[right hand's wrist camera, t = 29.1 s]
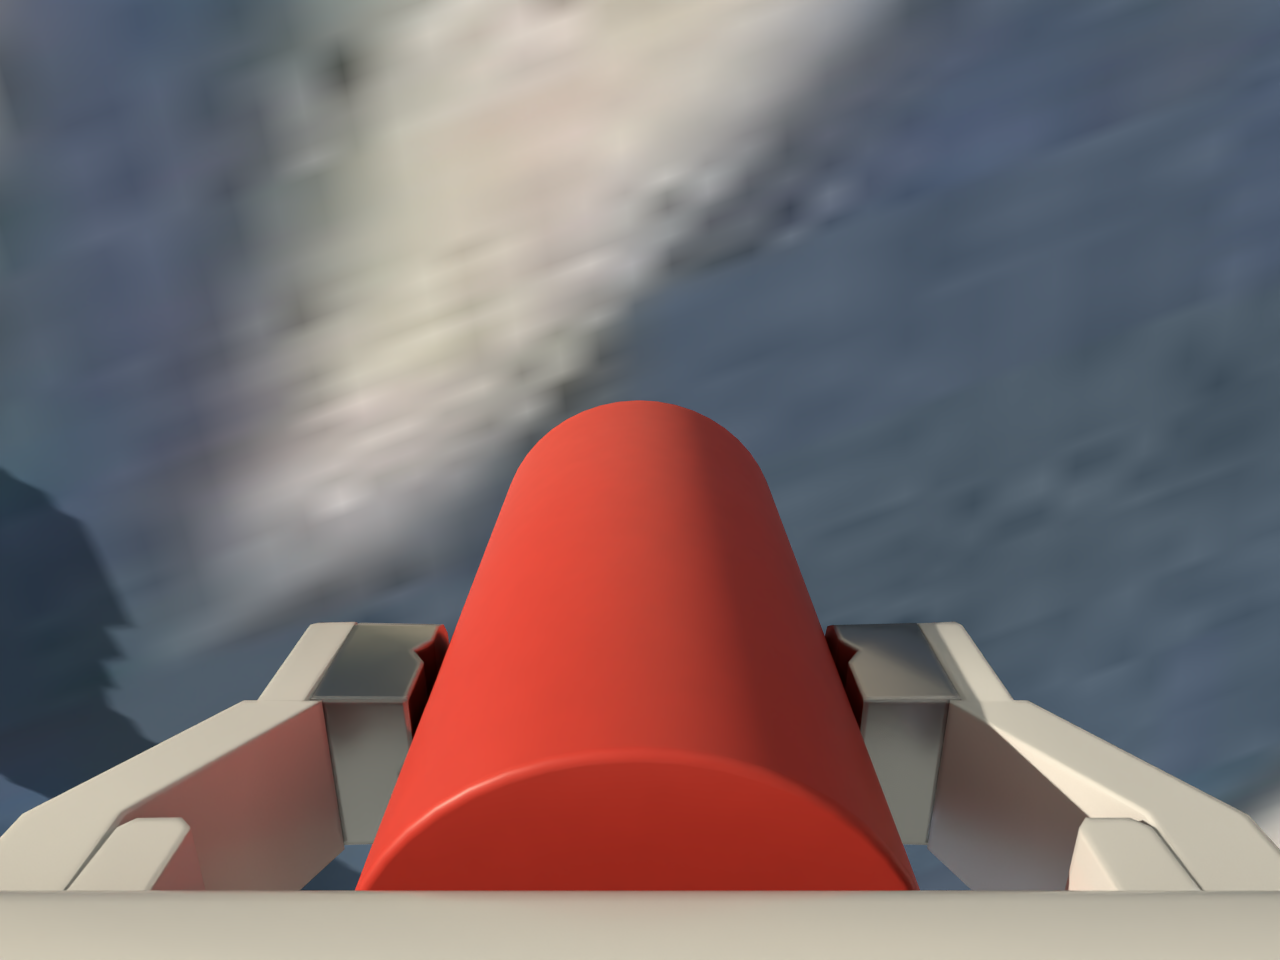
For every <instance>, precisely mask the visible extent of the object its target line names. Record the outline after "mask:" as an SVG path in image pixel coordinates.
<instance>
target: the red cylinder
mask: <svg viewBox="0 0 1280 960" xmlns="http://www.w3.org/2000/svg"><path fill="white" fill-rule="evenodd" d="M355 891H920V889H919V886H918V884H917V881H916V878H915V876H914V873H913V870H912V868H911V865H910V862H909V860H908V857H907V854H906V852H905V849H904V846H903V844H902V841H901V838H900V836H899V833H898V830H897V828H896V825H895V822H894V820H893V817H892V814H891V812H890V809H889V806H888V804H887V801H886V798H885V796H884V793H883V791H882V788H881V785H880V783H879V780H878V777H877V775H876V772H875V769H874V767H873V764H872V761H871V759H870V756H869V753H868V751H867V748H866V745H865V743H864V740H863V737H862V735H861V732H860V729H859V727H858V724H857V721H856V719H855V716H854V713H853V711H852V708H851V705H850V703H849V700H848V697H847V695H846V692H845V689H844V687H843V684H842V681H841V679H840V676H839V673H838V671H837V668H836V665H835V663H834V660H833V657H832V655H831V652H830V649H829V647H828V644H827V641H826V639H825V636H824V633H823V631H822V628H821V625H820V623H819V620H818V617H817V615H816V612H815V609H814V607H813V604H812V601H811V599H810V596H809V593H808V591H807V588H806V585H805V583H804V580H803V577H802V575H801V572H800V569H799V567H798V564H797V561H796V559H795V556H794V553H793V551H792V548H791V545H790V543H789V540H788V537H787V535H786V532H785V529H784V527H783V524H782V521H781V519H780V516H779V513H778V511H777V508H776V505H775V503H774V500H773V497H772V495H771V492H770V489H769V487H768V484H767V482H766V479H765V477H764V475H763V473H762V471H761V469H760V467H759V466H758V464H757V463H756V461H755V460H754V458H753V457H752V455H751V454H750V452H749V451H748V450H747V449H746V448H745V447H744V446H743V444H742V443H741V442H740V441H739V440H738V439H737V438H736V437H734V436H733V435H732V434H731V433H730V432H729V431H727V430H726V429H725V428H724V427H722V426H721V425H719V424H717V423H716V422H714V421H713V420H711V419H710V418H708V417H705V416H703V415H701V414H699V413H697V412H695V411H693V410H689V409H686V408H683V407H680V406H677V405H673V404H667V403H662V402H656V401H624V402H616V403H611V404H606V405H601V406H598V407H595V408H592V409H589V410H586V411H583V412H581V413H579V414H577V415H575V416H573V417H571V418H569V419H567V420H566V421H564V422H563V423H561V424H560V425H558V426H557V427H555V428H554V429H552V430H551V431H550V432H549V433H547V434H546V435H545V436H544V437H543V438H542V439H541V440H540V441H538V443H537V444H536V445H535V446H534V447H533V448H532V450H531V451H530V452H529V453H528V454H527V456H526V457H525V459H524V460H523V462H522V463H521V465H520V466H519V468H518V470H517V472H516V474H515V476H514V479H513V481H512V483H511V485H510V488H509V491H508V493H507V496H506V498H505V501H504V504H503V506H502V509H501V511H500V514H499V517H498V519H497V522H496V524H495V527H494V530H493V532H492V535H491V537H490V540H489V543H488V545H487V548H486V550H485V553H484V556H483V558H482V561H481V563H480V566H479V569H478V571H477V574H476V576H475V579H474V582H473V584H472V587H471V589H470V592H469V595H468V597H467V600H466V603H465V605H464V608H463V610H462V613H461V616H460V618H459V621H458V623H457V626H456V629H455V631H454V634H453V636H452V639H451V642H450V644H449V647H448V649H447V652H446V655H445V657H444V660H443V662H442V665H441V668H440V670H439V673H438V675H437V678H436V681H435V683H434V686H433V688H432V691H431V694H430V696H429V699H428V701H427V704H426V707H425V709H424V712H423V714H422V717H421V720H420V722H419V725H418V727H417V730H416V733H415V735H414V738H413V741H412V743H411V746H410V748H409V751H408V754H407V756H406V759H405V761H404V764H403V767H402V769H401V772H400V774H399V777H398V780H397V782H396V785H395V787H394V790H393V793H392V795H391V798H390V800H389V803H388V806H387V808H386V811H385V813H384V816H383V819H382V821H381V824H380V826H379V829H378V832H377V834H376V837H375V839H374V842H373V845H372V847H371V850H370V852H369V855H368V858H367V860H366V863H365V865H364V868H363V871H362V873H361V876H360V879H359V881H358V884H357V886H356V889H355Z"/></svg>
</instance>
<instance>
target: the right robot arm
mask: <svg viewBox="0 0 1280 960" xmlns="http://www.w3.org/2000/svg"><path fill="white" fill-rule="evenodd" d="M825 639H826V641H827V644H828V647H829V649H830V652H831V655H832V657H833V660H834V663H835V665H836V668H837V671H838V673H839V676H840V679H841V681H842V684H843V687H844V689H845V692H846V695H847V697H848V700H849V703H850V705H851V708H852V711H853V713H854V716H855V719H856V721H857V724H858V727H859V729H860V732H861V735H862V737H863V740H864V743H865V745H866V748H867V751H868V753H869V756H870V759H871V761H872V764H873V767H874V769H875V772H876V775H877V777H878V780H879V783H880V785H881V788H882V791H883V793H884V796H885V798H886V801H887V804H888V806H889V809H890V812H891V814H892V817H893V820H894V822H895V825H896V828H897V830H898V833H899V836H900V838H901V841H902V844H917V845H928V846H927V849H928V850H930V851H931V852H932V853H933V854H934V855H935V856H936V857H937V858H938V859H939V860H940V861H941V862H942V863H943V864H945V865H946V866H947V867H948V868H949V869H950V870H951V871H952V872H953V873H954V874H955V875H956V876H957V877H958V878H960V879H961V880H962V881H963V882H964V883H965V884H966V885H967V886H968V887H969V888H970V889H971V890H972V891H300V890H301V889H302V888H303V887H304V886H305V885H306V884H307V883H308V882H309V881H310V880H311V879H313V878H314V877H315V876H316V875H317V874H318V873H319V872H320V871H321V870H322V869H323V868H324V867H326V866H327V865H328V864H329V863H330V862H331V861H332V860H333V859H334V858H335V857H336V856H337V855H339V854H340V853H341V852H342V851H343V850H344V845H354V844H373V842H374V839H375V837H376V834H377V832H378V829H379V826H380V824H381V821H382V819H383V816H384V813H385V811H386V808H387V806H388V803H389V800H390V798H391V795H392V793H393V790H394V787H395V785H396V782H397V780H398V777H399V774H400V772H401V769H402V767H403V764H404V761H405V759H406V756H407V754H408V751H409V748H410V746H411V743H412V741H413V738H414V735H415V733H416V730H417V727H418V725H419V722H420V720H421V717H422V714H423V712H424V709H425V707H426V704H427V701H428V699H429V696H430V694H431V691H432V688H433V686H434V683H435V681H436V678H437V675H438V673H439V670H440V668H441V665H442V662H443V660H444V657H445V655H446V652H447V649H448V647H449V641H448V633H447V631H446V629H445V627H444V625H443V624H394V623H359V624H358V623H356V622H336V623H316V624H312V625H310V626H309V627H308V629H307V630H306V631H305V633H304V634H303V636H302V637H301V639H300V640H299V641H298V643H297V644H296V646H295V647H294V649H293V650H292V651H291V653H290V654H289V656H288V657H287V659H286V660H285V661H284V663H283V664H282V666H281V667H280V669H279V670H278V671H277V673H276V674H275V676H274V677H273V679H272V680H271V681H270V683H269V684H268V686H267V687H266V689H265V690H264V691H263V693H262V694H261V696H260V697H259V699H258V700H252V701H242V702H240V703H238V704H236V705H234V706H232V707H230V708H228V709H226V710H224V711H222V712H220V713H218V714H216V715H215V716H213V717H211V718H209V719H207V720H205V721H203V722H201V723H199V724H197V725H195V726H193V727H191V728H189V729H187V730H185V731H183V732H181V733H179V734H177V735H176V736H174V737H172V738H170V739H168V740H166V741H164V742H162V743H160V744H158V745H156V746H154V747H152V748H150V749H148V750H146V751H144V752H142V753H140V754H138V755H137V756H135V757H133V758H131V759H129V760H127V761H125V762H123V763H121V764H119V765H117V766H115V767H113V768H111V769H109V770H107V771H105V772H103V773H101V774H99V775H98V776H96V777H94V778H92V779H90V780H88V781H86V782H84V783H82V784H80V785H78V786H76V787H74V788H72V789H70V790H68V791H66V792H64V793H62V794H60V795H59V796H57V797H55V798H53V799H51V800H49V801H47V802H45V803H43V804H41V805H39V806H37V807H35V808H33V809H31V810H29V811H27V812H25V813H23V814H22V815H21V816H20V817H19V818H18V819H17V820H16V821H15V822H14V824H13V825H12V826H11V827H10V828H9V829H8V830H7V831H6V832H5V833H4V834H3V835H2V836H1V838H0V960H1280V849H1279V848H1278V847H1277V846H1276V845H1275V844H1274V843H1273V842H1272V840H1271V839H1270V838H1269V837H1268V836H1267V835H1266V834H1265V833H1264V832H1263V831H1262V829H1261V828H1260V827H1259V826H1258V825H1257V824H1256V823H1255V822H1254V821H1253V820H1252V818H1251V817H1250V816H1249V815H1247V814H1245V813H1243V812H1241V811H1239V810H1237V809H1236V808H1234V807H1232V806H1230V805H1228V804H1226V803H1224V802H1222V801H1220V800H1218V799H1216V798H1214V797H1212V796H1211V795H1209V794H1207V793H1205V792H1203V791H1201V790H1199V789H1197V788H1195V787H1193V786H1191V785H1189V784H1187V783H1185V782H1184V781H1182V780H1180V779H1178V778H1176V777H1174V776H1172V775H1170V774H1168V773H1166V772H1164V771H1162V770H1160V769H1159V768H1157V767H1155V766H1153V765H1151V764H1149V763H1147V762H1145V761H1143V760H1141V759H1139V758H1137V757H1135V756H1133V755H1132V754H1130V753H1128V752H1126V751H1124V750H1122V749H1120V748H1118V747H1116V746H1114V745H1112V744H1110V743H1108V742H1107V741H1105V740H1103V739H1101V738H1099V737H1097V736H1095V735H1093V734H1091V733H1089V732H1087V731H1085V730H1083V729H1082V728H1080V727H1078V726H1076V725H1074V724H1072V723H1070V722H1068V721H1066V720H1064V719H1062V718H1060V717H1058V716H1056V715H1055V714H1053V713H1051V712H1049V711H1047V710H1045V709H1043V708H1041V707H1039V706H1037V705H1035V704H1033V703H1031V702H1030V701H1020V700H1014V699H1013V698H1012V697H1011V695H1010V694H1009V692H1008V691H1007V689H1006V688H1005V686H1004V685H1003V684H1002V682H1001V681H1000V679H999V678H998V676H997V675H996V673H995V672H994V671H993V669H992V668H991V666H990V665H989V663H988V662H987V660H986V659H985V658H984V656H983V655H982V653H981V652H980V650H979V649H978V647H977V646H976V645H975V643H974V642H973V640H972V639H971V637H970V636H969V634H968V633H967V632H966V630H965V629H964V627H963V626H962V625H961V624H958V623H956V622H939V623H899V624H858V625H831V626H827V630H826V634H825Z"/></svg>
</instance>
